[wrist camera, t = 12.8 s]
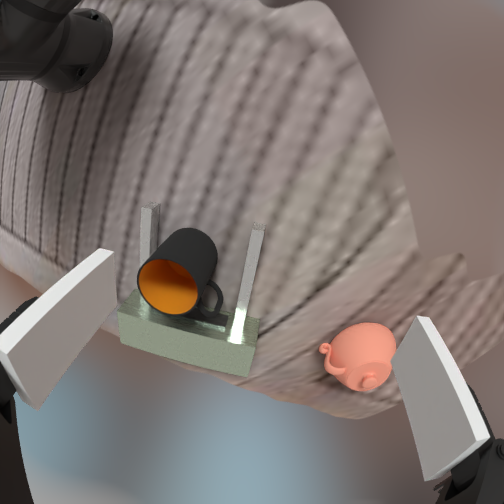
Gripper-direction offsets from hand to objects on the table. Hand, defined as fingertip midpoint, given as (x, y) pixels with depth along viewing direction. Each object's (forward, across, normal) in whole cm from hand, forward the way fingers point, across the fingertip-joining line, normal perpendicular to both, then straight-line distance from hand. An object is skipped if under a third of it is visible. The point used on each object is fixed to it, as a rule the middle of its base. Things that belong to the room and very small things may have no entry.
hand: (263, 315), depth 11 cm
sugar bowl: (+29, +20, -23) cm, 42 cm away
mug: (+29, -9, -14) cm, 33 cm away
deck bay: (+29, -9, -17) cm, 35 cm away
